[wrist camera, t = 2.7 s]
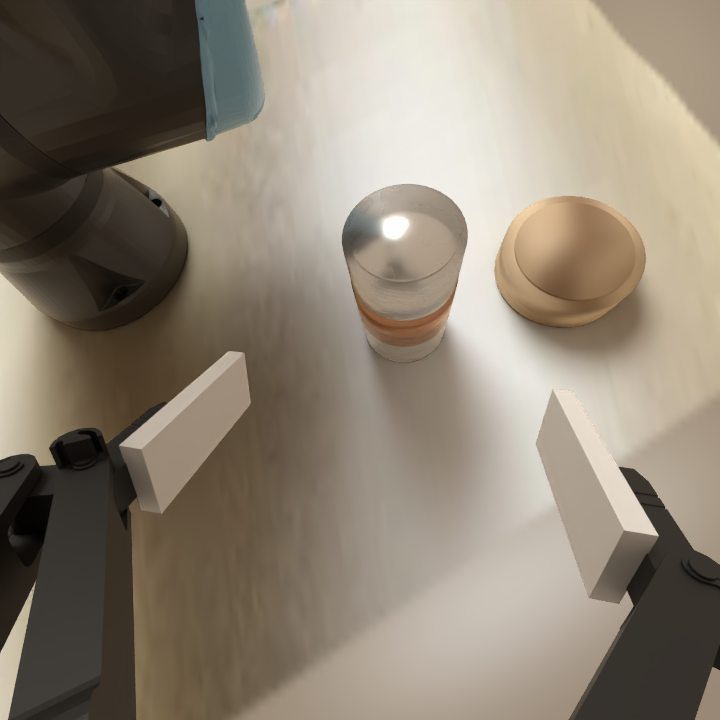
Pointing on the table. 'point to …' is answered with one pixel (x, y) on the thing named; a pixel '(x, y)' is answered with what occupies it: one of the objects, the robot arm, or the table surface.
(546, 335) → the table surface
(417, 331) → the can
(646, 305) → the table surface
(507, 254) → the stand
